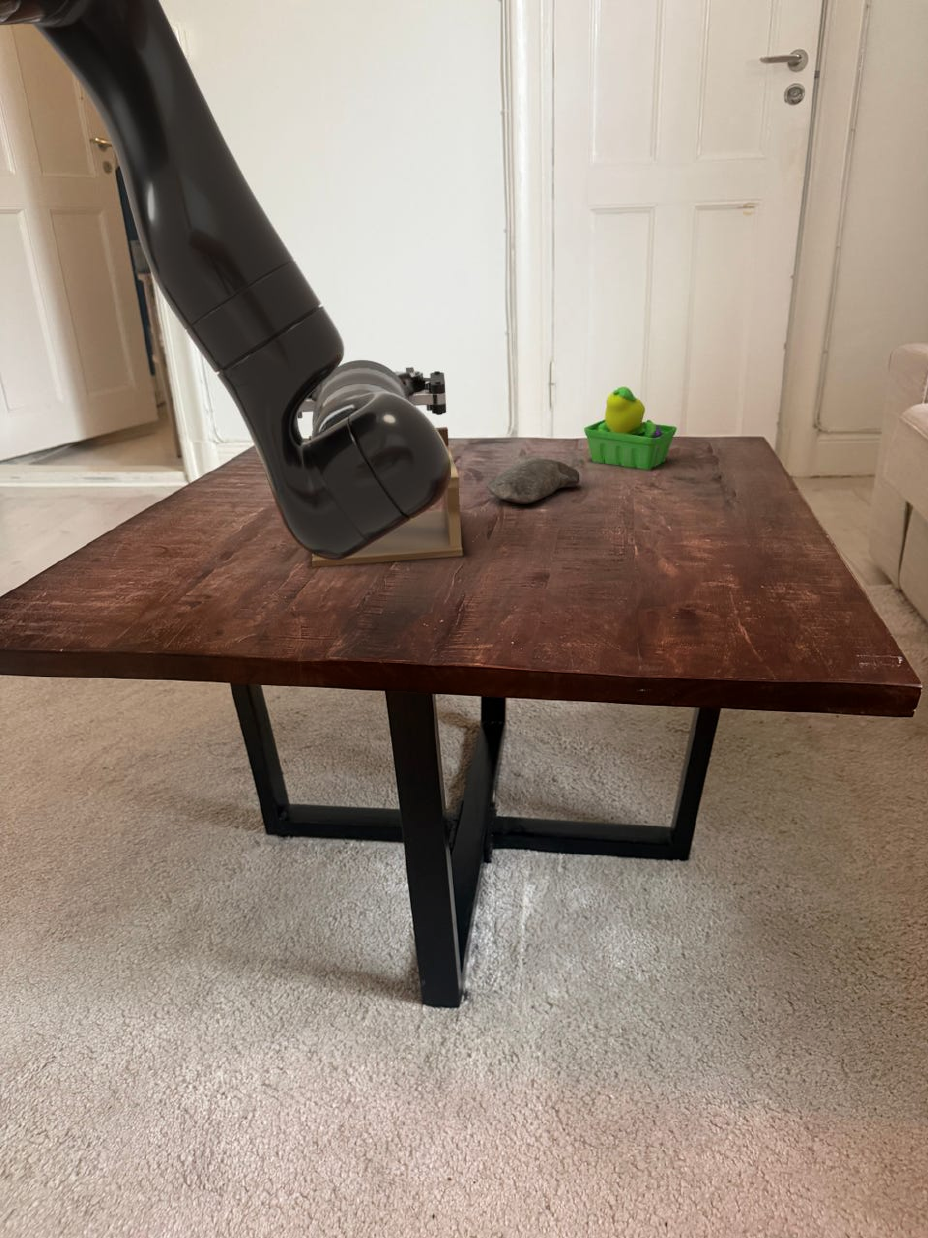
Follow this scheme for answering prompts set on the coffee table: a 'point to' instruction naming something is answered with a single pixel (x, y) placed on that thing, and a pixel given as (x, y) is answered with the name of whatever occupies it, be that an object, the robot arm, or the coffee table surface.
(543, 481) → the stone
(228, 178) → the robot arm
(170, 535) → the coffee table surface
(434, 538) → the shelf
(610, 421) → the fruit basket
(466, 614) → the coffee table surface
